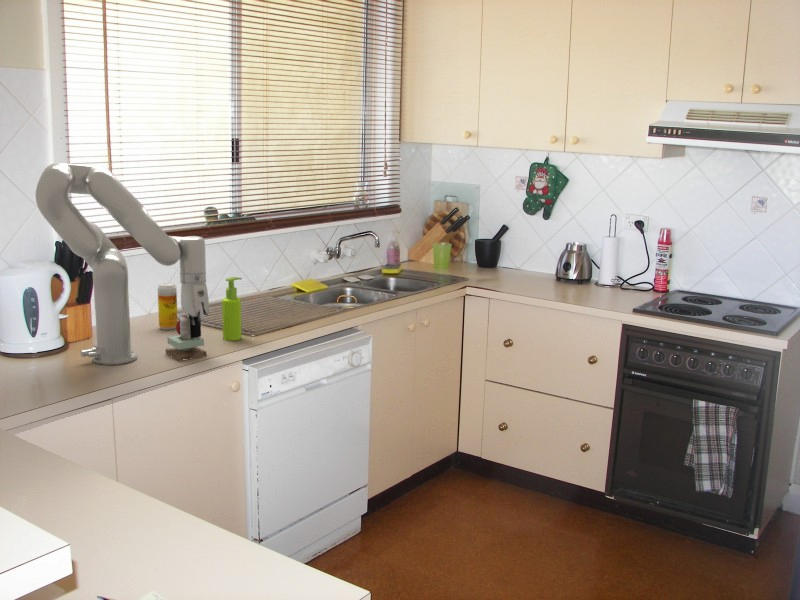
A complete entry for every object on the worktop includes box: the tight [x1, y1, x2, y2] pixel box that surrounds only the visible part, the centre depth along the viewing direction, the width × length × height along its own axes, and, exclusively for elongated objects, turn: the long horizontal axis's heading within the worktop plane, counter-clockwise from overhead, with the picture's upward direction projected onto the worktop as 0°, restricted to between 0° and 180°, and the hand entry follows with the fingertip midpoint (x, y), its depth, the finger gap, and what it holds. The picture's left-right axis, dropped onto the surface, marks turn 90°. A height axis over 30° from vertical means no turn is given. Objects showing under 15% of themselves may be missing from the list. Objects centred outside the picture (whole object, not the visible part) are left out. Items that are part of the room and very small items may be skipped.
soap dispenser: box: [221, 276, 243, 341], centre depth 281 cm, size 6×7×20 cm
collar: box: [167, 334, 205, 350], centre depth 262 cm, size 8×8×2 cm
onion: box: [175, 314, 187, 335], centre depth 280 cm, size 6×6×8 cm
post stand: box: [165, 316, 208, 361], centre depth 262 cm, size 9×9×12 cm
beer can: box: [157, 282, 179, 331], centre depth 291 cm, size 6×6×15 cm
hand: (195, 336), depth 264 cm, fingers closed
